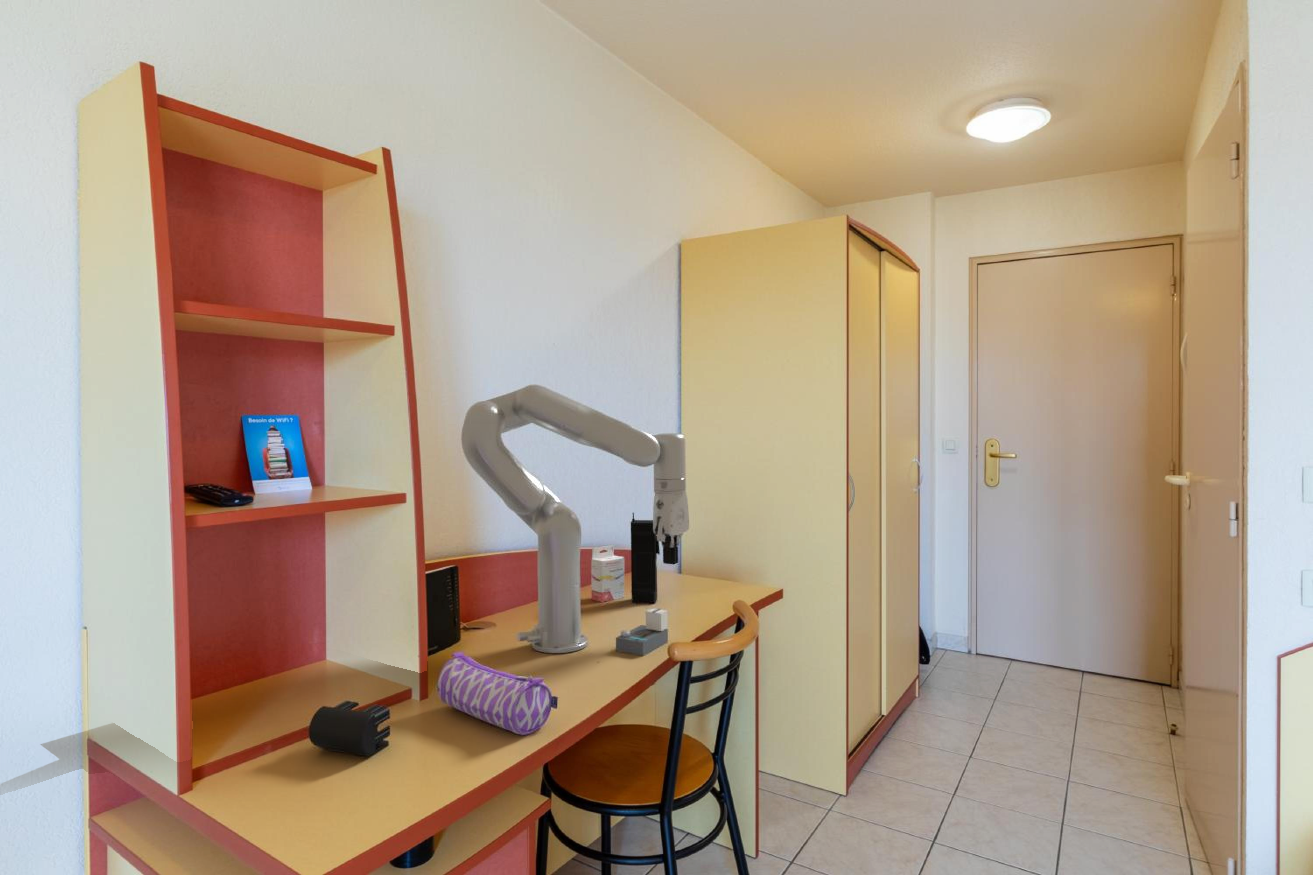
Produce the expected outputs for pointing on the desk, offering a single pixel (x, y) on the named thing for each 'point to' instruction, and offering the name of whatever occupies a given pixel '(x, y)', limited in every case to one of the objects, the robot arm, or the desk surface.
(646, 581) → the portable radio
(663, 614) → the block
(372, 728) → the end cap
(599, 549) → the ink cartridge box
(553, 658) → the desk surface
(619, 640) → the console
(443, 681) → the pencil case
